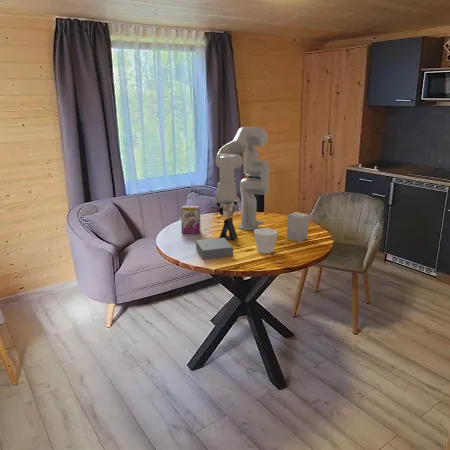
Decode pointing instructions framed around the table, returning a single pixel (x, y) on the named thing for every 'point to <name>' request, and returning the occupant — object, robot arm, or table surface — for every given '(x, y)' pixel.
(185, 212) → the candy bar box
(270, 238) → the cup
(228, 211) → the cream block
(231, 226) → the phone stand
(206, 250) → the slate block
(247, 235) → the table surface
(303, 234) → the supplement box
